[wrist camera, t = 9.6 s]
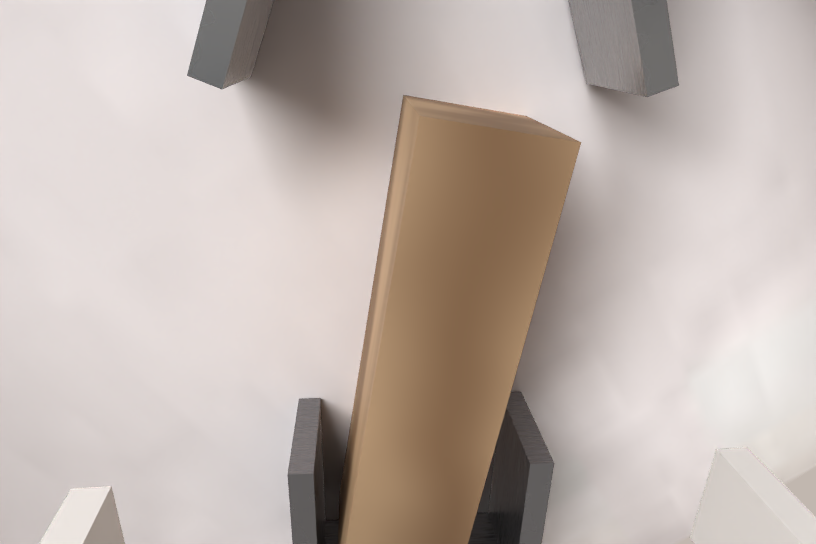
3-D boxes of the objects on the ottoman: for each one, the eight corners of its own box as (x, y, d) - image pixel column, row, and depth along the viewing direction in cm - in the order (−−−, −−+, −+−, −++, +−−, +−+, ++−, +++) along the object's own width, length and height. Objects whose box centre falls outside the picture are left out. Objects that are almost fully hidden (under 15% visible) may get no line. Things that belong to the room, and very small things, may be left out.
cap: (307, 535, 24) (298, 625, 20) (299, 398, 21) (287, 474, 18) (504, 525, 25) (530, 610, 21) (521, 392, 22) (554, 463, 19)
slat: (339, 488, 24) (336, 597, 19) (402, 94, 18) (420, 115, 13) (432, 494, 24) (451, 601, 20) (524, 114, 18) (580, 142, 14)
